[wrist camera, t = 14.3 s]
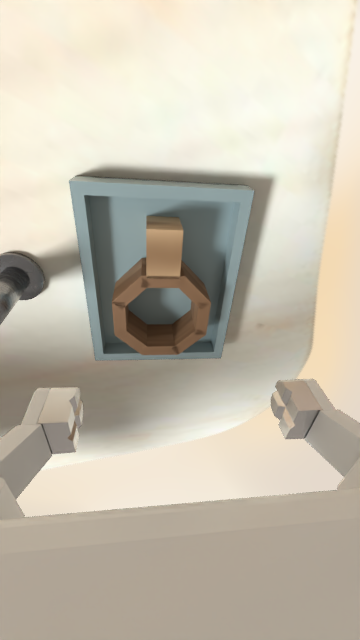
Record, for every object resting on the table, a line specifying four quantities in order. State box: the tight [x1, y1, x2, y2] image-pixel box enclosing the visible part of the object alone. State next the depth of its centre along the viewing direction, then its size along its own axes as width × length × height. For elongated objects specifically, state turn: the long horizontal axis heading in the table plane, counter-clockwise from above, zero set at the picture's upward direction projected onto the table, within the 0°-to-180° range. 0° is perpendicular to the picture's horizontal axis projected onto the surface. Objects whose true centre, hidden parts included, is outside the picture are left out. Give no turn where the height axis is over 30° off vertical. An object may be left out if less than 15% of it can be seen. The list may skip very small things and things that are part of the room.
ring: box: [112, 216, 211, 355], centre depth 28 cm, size 14×9×4 cm
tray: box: [69, 176, 254, 360], centre depth 29 cm, size 19×15×2 cm
